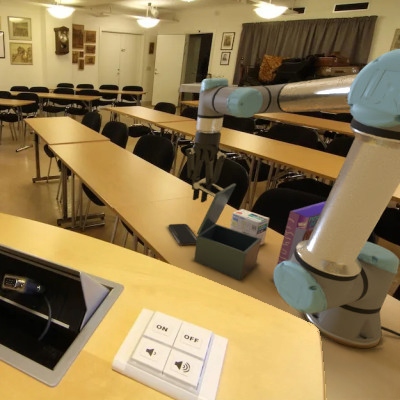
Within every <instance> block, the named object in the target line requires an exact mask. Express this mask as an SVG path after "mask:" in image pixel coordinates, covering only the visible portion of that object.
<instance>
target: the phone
mask: <svg viewBox="0 0 400 400" xmlns="http://www.w3.org/2000/svg"><path fill="white" fill-rule="evenodd" d="M168 229H169V231H170V233H171V234H172V236H173V237H174V239H175V241H176V242H177V243H178V245H179V246H192V245H194V246H195V245H196V242H197V234H195V233H194V232H193V229H191V227H190V226H189V225H188V223H170V224H168Z"/></svg>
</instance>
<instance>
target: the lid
mask: <svg viewBox="0 0 400 400" xmlns="http://www.w3.org/2000/svg"><path fill="white" fill-rule="evenodd" d="M199 180H200V181H198V182H196V183H194V185H193V186H194V188H195V189H199V188H200V190H201V191H202V190H203V191H205V192H207V193H208V195H210V196H212V197H213V199H212V201H211V204H210V205H209V208H208V210H207V211H206V213H205V216H204V217H203V220H202V222H201V224H200V226H199V228H198V229H197V232H196V236H198V235H200V234H201V233H202V232H204V231H205V230H207V229H208V228H210V227H211V226H213V225H214V224H217V223H218V221H219V219H220V217H221V215H222V213H223V211H224V209H225V207H226V205H227V203H228V202H229V200H230V197H231V196H232V194H233V192H234V190H235V188H236V186H237V183H232V184H230V185H229V186H227V187H225V188H222V187H220V186H219V185H217V184H216V183H214V184H211V187H214V188H215V189H217V190H219V191H218V192H216V193H214V192H213V191H209V190H207V189H205V188H204V187H203V184H204V183H206V177H204V178H202V179H199Z"/></svg>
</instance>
